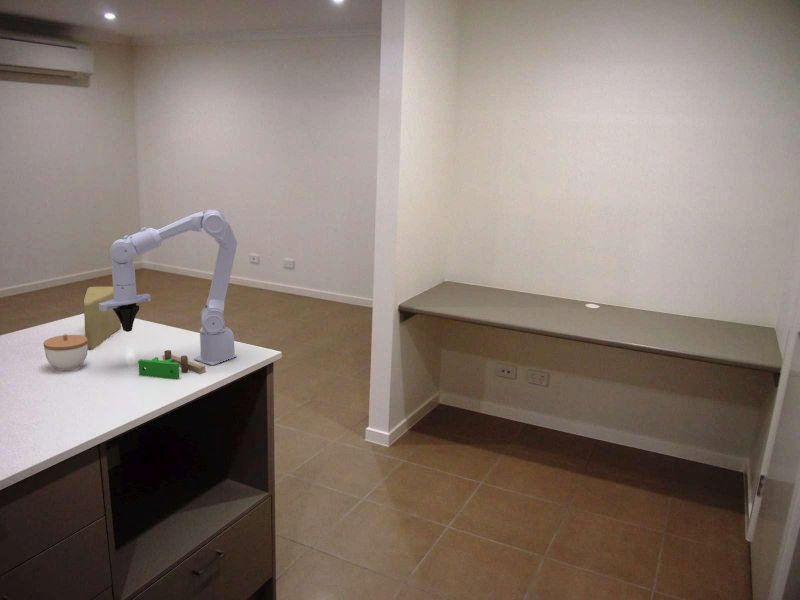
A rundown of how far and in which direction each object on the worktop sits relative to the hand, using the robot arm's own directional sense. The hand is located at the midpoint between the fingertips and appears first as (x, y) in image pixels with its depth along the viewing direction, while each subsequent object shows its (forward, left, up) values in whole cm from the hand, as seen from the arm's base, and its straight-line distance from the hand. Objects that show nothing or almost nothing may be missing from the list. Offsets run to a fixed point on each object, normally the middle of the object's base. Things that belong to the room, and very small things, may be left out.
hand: (127, 330), depth 170 cm
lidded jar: (+11, -12, -11) cm, 19 cm away
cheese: (-8, -28, -11) cm, 31 cm away
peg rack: (-7, +12, -10) cm, 17 cm away
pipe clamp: (-1, +13, -11) cm, 17 cm away
